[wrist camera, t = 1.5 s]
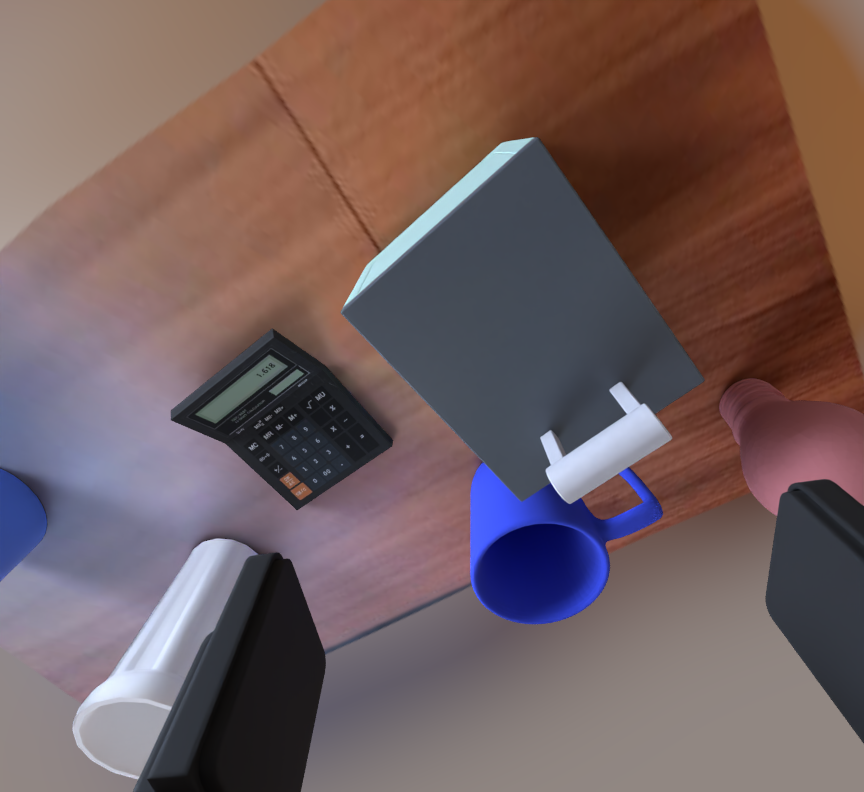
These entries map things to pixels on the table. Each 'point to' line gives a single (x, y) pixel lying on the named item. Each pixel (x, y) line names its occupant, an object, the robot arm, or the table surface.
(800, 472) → the light bulb
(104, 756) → the cup
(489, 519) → the mug
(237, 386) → the calculator
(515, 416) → the lid
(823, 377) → the table surface
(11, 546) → the blue bottle
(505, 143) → the mint green open box
